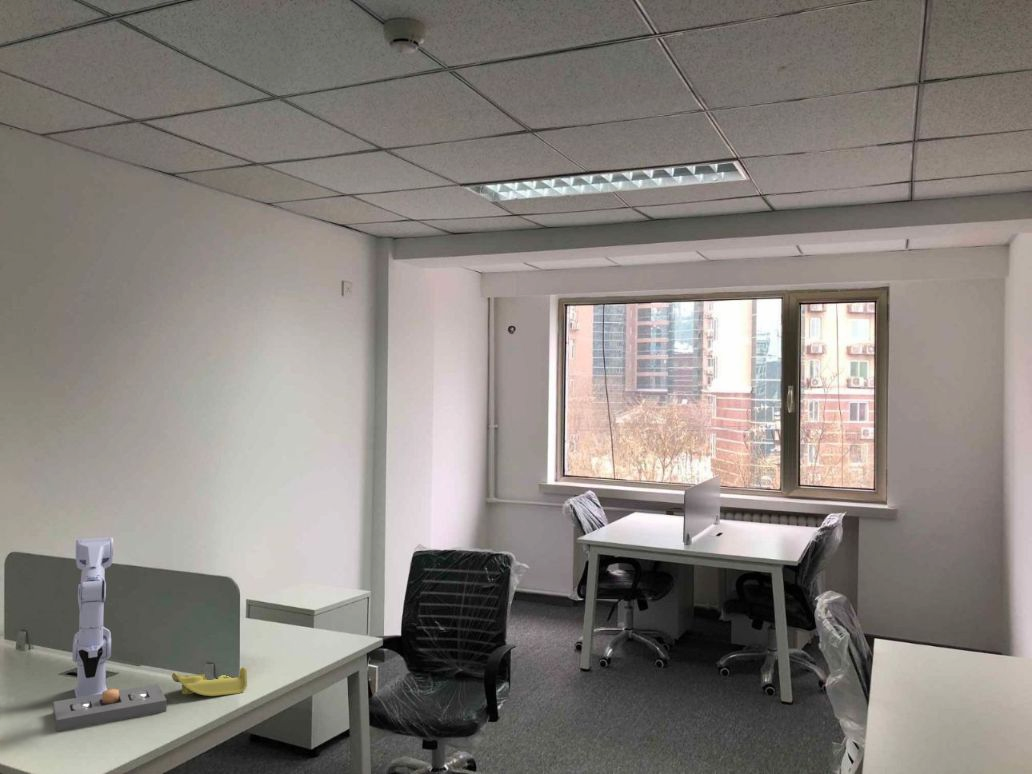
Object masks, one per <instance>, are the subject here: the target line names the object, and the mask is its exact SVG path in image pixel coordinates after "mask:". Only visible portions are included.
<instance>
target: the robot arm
mask: <svg viewBox="0 0 1032 774" xmlns="http://www.w3.org/2000/svg"><path fill="white" fill-rule="evenodd" d="M113 557H114V538H113V537H112V536H109V537H96V538H95V537H94V538H78V539H77V540H75V563H76V567H77V569H79V570H81V576H80V583H78V586H77V587H78V589H77V602H78V611H79V619H78V620H79V625H78V631H77V632H76V633H75V634H74V636H73V642H72V653H71V654H72V657H71V659H72V662H74V664H75V663H76V666H77V673H76V674H77V675H76V676H77V678H76V679H77V680H76V682H77V683H76V686H75V687H73V691H74V695H75V698H79V697H85V696H90V695H96V694H102V692H103V691H105V690H108V687H107V684H106V678H107V677H106V676H107V675H106V671H107V670H106V669H107V667H106V666H107V660H109V659H110V658H111V656H112V634H111V633H112V632H111V631H110V629H108V628H106V627H105V626H104V614H105V613H104V612H105V611H104V610H105V609H104V607H105V606H104V605H105V602H106V598H107V597H106V596H107V591H106V590H107V582H106V578H105V576H106V575H105V574H106V571H105V570H106V569H107V568H109V567H111V566H112V564H113Z"/></svg>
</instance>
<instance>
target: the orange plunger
mask: <svg viewBox="0 0 1032 774" xmlns="http://www.w3.org/2000/svg"><path fill="white" fill-rule="evenodd" d="M119 691H120V689H117V688H110V689H107V690H105V691H103V692H102V702H103V703H114V702H116V701H118V700H119Z"/></svg>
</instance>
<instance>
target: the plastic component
mask: <svg viewBox="0 0 1032 774" xmlns="http://www.w3.org/2000/svg"><path fill="white" fill-rule="evenodd" d="M239 670H240V677H235V678H231V677H229V676H226V675H221V676H219V677H218V679H213V680H207V679H206V678H205V674H206V673H203V674H190V675H179V674H178V672H174V673H172V674H171V678H172V681H174V682H175V683H180V684H181V686H182V687H181V694H182V695H191V694H194V693H195V694H197V695H202V696H204V697H205V696H206V697H207V696H208V697H216V696H217V697H218V696H227V695H235V694H241V693H242V692H245V690H246V689H247V686H248V677H247V675H248V674H247V673H248V672H247V667H246V666H243V667H242V668H240V669H239Z"/></svg>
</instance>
